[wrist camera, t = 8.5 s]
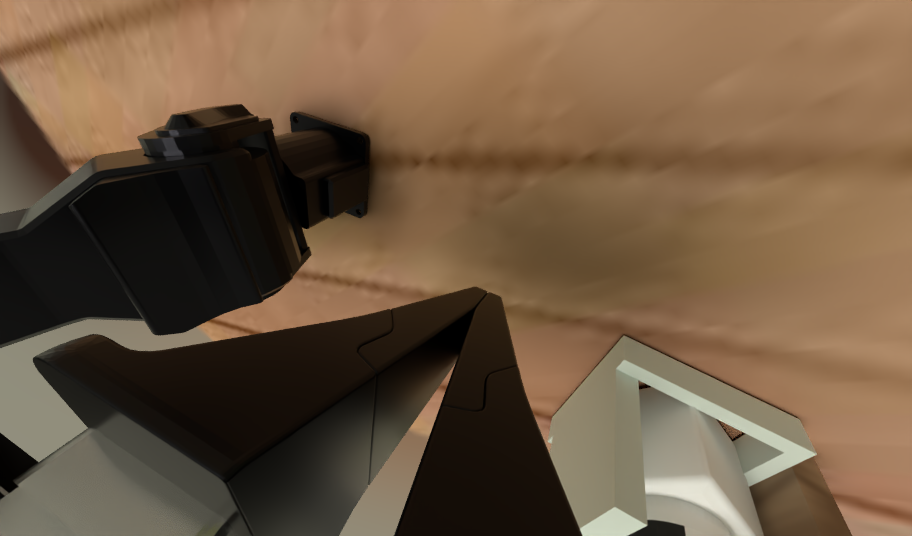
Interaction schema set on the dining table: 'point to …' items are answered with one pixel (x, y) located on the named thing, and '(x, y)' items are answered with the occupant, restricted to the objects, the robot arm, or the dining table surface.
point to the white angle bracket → (620, 437)
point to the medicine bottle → (691, 473)
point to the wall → (798, 503)
